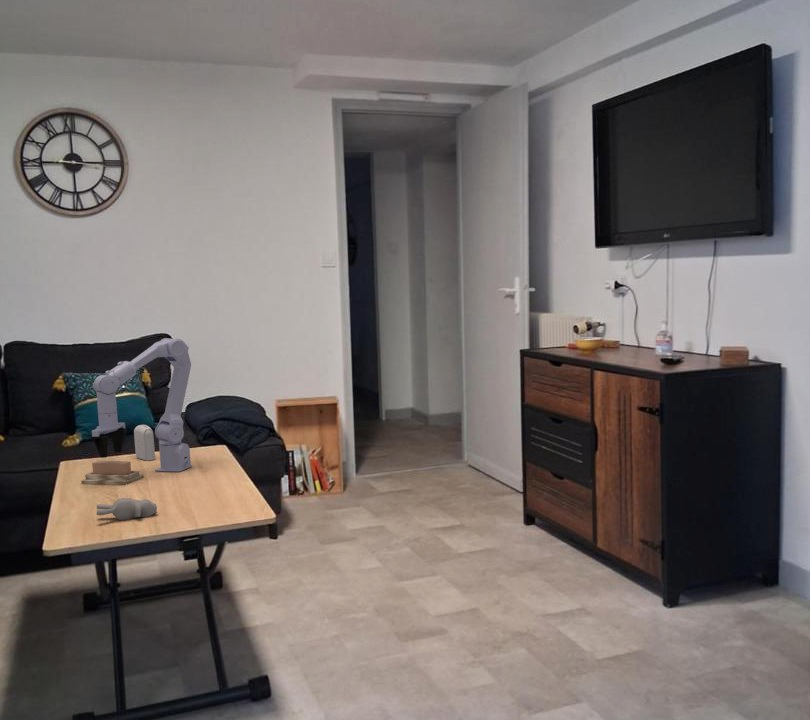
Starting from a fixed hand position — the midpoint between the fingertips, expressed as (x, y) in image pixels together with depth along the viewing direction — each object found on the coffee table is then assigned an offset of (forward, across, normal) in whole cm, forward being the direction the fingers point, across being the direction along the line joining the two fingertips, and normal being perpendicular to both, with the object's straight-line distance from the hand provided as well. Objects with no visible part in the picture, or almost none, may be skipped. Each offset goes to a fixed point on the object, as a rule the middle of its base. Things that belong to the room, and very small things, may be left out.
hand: (110, 454), depth 260 cm
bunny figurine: (+9, +38, +31) cm, 50 cm away
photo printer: (+9, -32, -9) cm, 34 cm away
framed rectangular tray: (+8, 0, 0) cm, 8 cm away
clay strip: (+7, 0, 0) cm, 7 cm away
